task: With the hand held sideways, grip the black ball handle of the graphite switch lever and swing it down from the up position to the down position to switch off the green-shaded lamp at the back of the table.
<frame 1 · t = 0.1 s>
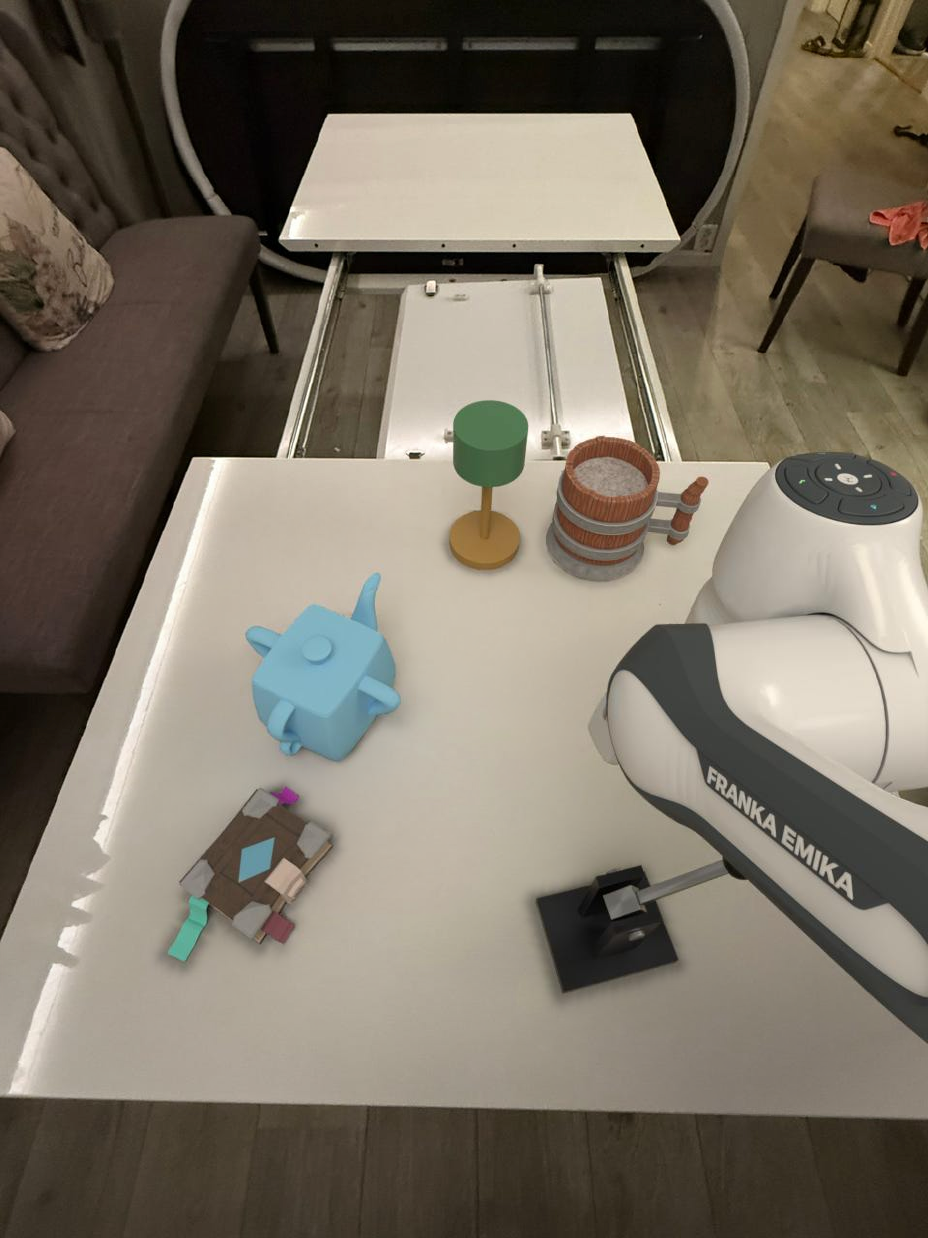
hand: (691, 737, 62), 24 cm above the table, tool pointing down, fingers open, 8 cm apart
lamp: (484, 543, 105), on the table
teapot: (340, 697, 91), on the table
book: (259, 886, 77), on the table
switch bracket: (604, 931, 75), on the table
lever: (683, 882, 65), point 14 cm above the table, hinge at 28.0°
mug: (612, 547, 105), on the table
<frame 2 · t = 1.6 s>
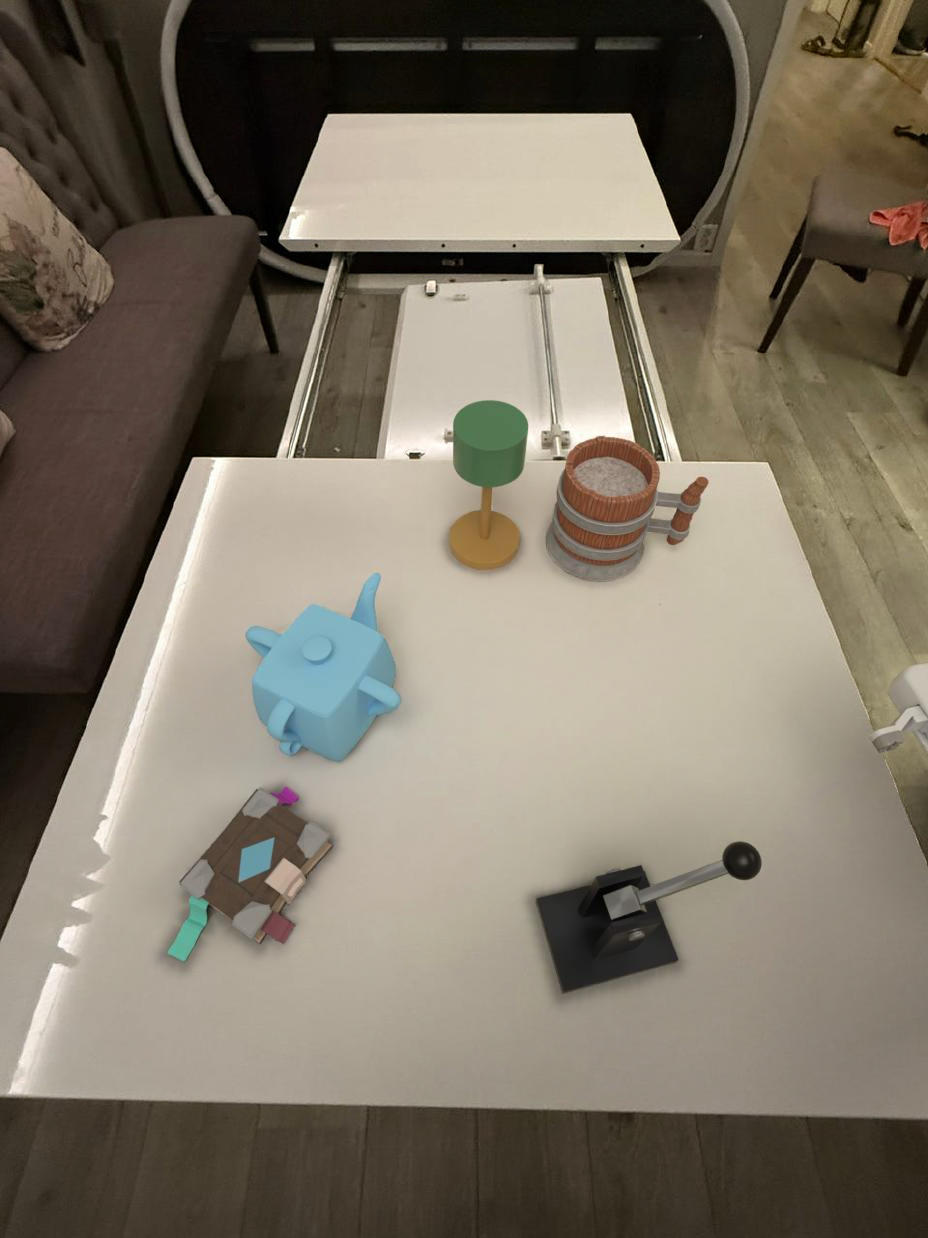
hand: (909, 794, 59), 24 cm above the table, tool horizontal, fingers open, 8 cm apart
nothing on the table moved.
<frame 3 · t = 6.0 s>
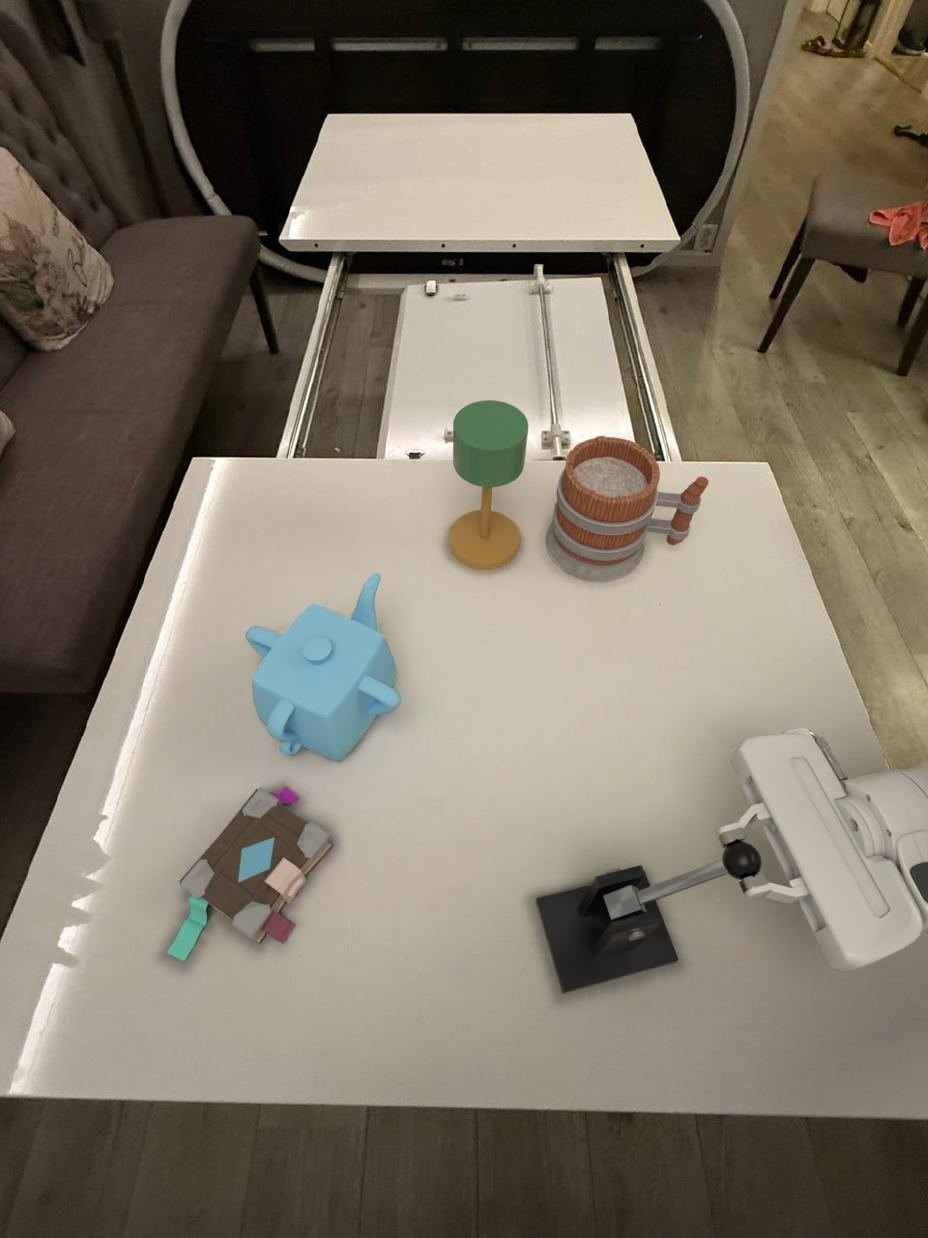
hand: (732, 863, 63), 16 cm above the table, tool horizontal, fingers closed on lever, 3 cm apart
lever: (683, 882, 65), point 14 cm above the table, hinge at 28.0°, touching gripper
everything else where it was.
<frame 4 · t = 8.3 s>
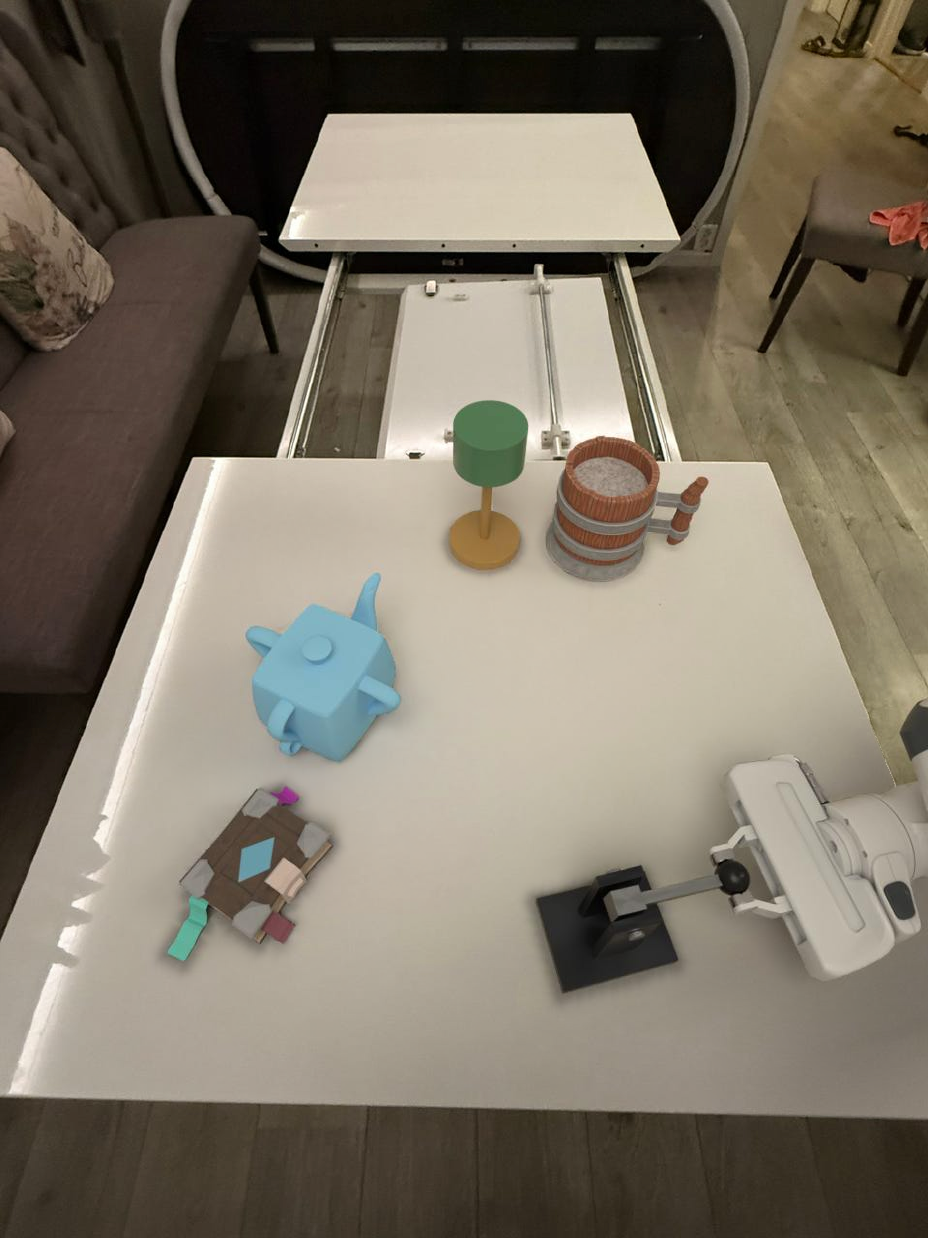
hand: (721, 881, 69), 10 cm above the table, tool horizontal, fingers closed on lever, 3 cm apart
lever: (680, 890, 67), point 10 cm above the table, hinge at -5.8°, touching gripper
everything else where it was.
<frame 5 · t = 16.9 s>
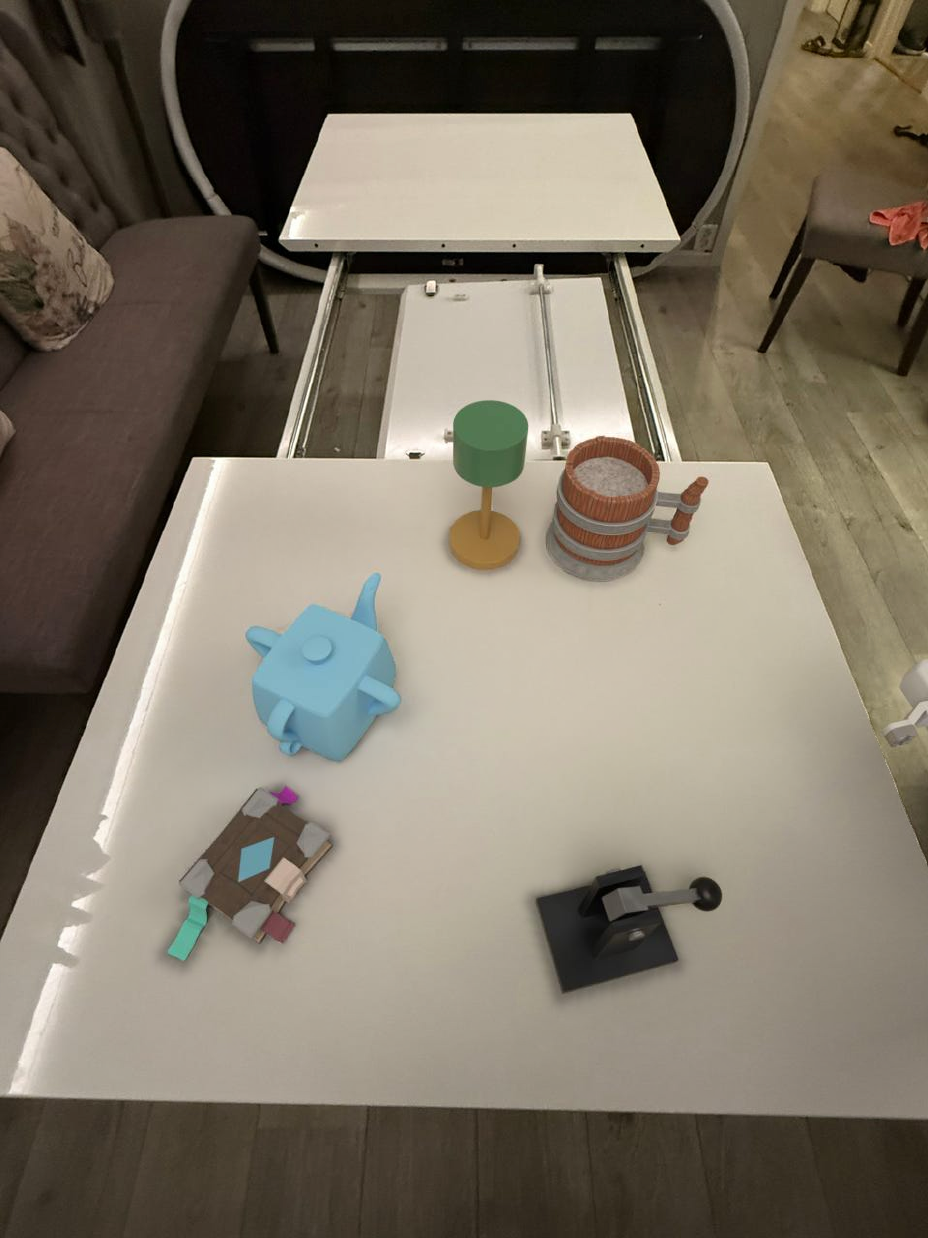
hand: (922, 788, 58), 25 cm above the table, tool horizontal, fingers open, 8 cm apart
lever: (667, 898, 69), point 8 cm above the table, hinge at -29.8°
everything else where it was.
at the end: lever at -30° (first picture: +28°); lamp moved 0.0 cm from its start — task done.
